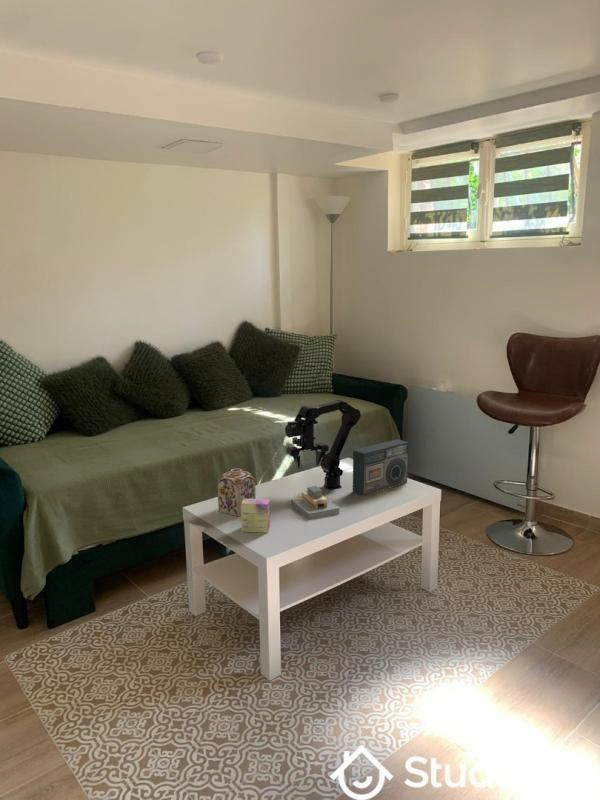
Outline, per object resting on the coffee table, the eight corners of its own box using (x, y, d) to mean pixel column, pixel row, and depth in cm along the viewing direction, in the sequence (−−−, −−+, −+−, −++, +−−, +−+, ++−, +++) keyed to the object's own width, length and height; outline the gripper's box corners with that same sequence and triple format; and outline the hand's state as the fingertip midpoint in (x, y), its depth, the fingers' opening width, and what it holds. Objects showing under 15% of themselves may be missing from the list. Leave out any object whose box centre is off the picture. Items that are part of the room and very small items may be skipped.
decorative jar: (239, 517, 248) (238, 476, 245) (217, 512, 255) (216, 471, 251) (256, 508, 258) (256, 468, 255) (235, 503, 264) (234, 463, 261)
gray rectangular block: (315, 492, 260) (315, 485, 259) (322, 497, 254) (322, 490, 254) (307, 494, 258) (307, 487, 257) (313, 498, 253) (313, 491, 252)
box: (270, 527, 239) (269, 498, 237) (268, 533, 234) (267, 504, 231) (244, 526, 240) (243, 498, 238) (241, 532, 235) (240, 503, 232)
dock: (319, 499, 268) (319, 493, 268) (339, 513, 252) (339, 507, 252) (290, 504, 262) (290, 498, 262) (308, 519, 246) (308, 513, 246)
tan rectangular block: (314, 497, 263) (314, 490, 263) (327, 507, 253) (327, 499, 252) (302, 499, 261) (302, 492, 260) (314, 509, 250) (314, 501, 250)
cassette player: (363, 496, 272) (364, 453, 268) (352, 492, 278) (353, 450, 273) (407, 482, 290) (408, 442, 286) (396, 478, 295) (397, 439, 291)
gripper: (318, 427, 282) (318, 460, 285) (281, 432, 274) (281, 465, 277) (329, 433, 272) (329, 466, 275) (291, 438, 264) (291, 472, 268)
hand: (307, 467), depth 274 cm, fingers open, 9 cm apart
